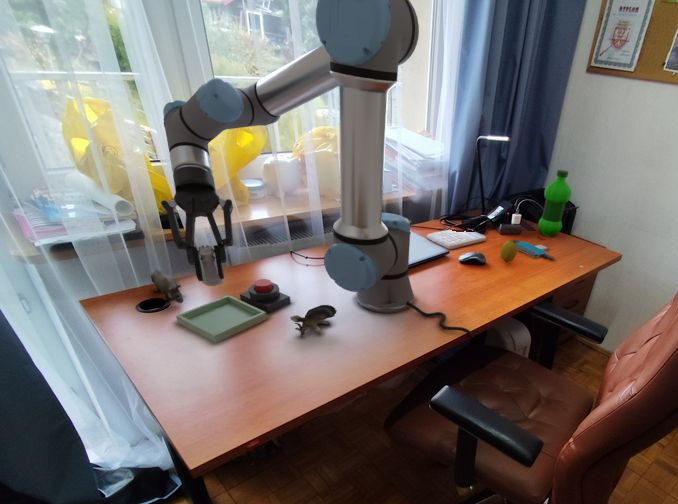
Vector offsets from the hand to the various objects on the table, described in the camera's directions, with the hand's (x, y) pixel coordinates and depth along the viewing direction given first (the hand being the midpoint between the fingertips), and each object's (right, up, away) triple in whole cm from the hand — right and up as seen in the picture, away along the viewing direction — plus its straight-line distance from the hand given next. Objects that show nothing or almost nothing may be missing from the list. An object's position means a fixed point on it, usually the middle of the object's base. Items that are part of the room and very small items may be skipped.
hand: (210, 277), depth 87 cm
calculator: (+53, +27, +72) cm, 93 cm away
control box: (+3, -3, +19) cm, 20 cm away
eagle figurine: (+18, -11, +11) cm, 24 cm away
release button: (+3, 0, +17) cm, 18 cm away
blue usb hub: (+82, +23, +71) cm, 111 cm away
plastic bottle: (+92, +34, +89) cm, 132 cm away
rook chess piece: (-2, 0, +5) cm, 5 cm away
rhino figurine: (-19, -3, +16) cm, 25 cm away
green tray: (-3, -8, +11) cm, 14 cm away
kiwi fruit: (+70, +15, +58) cm, 92 cm away
